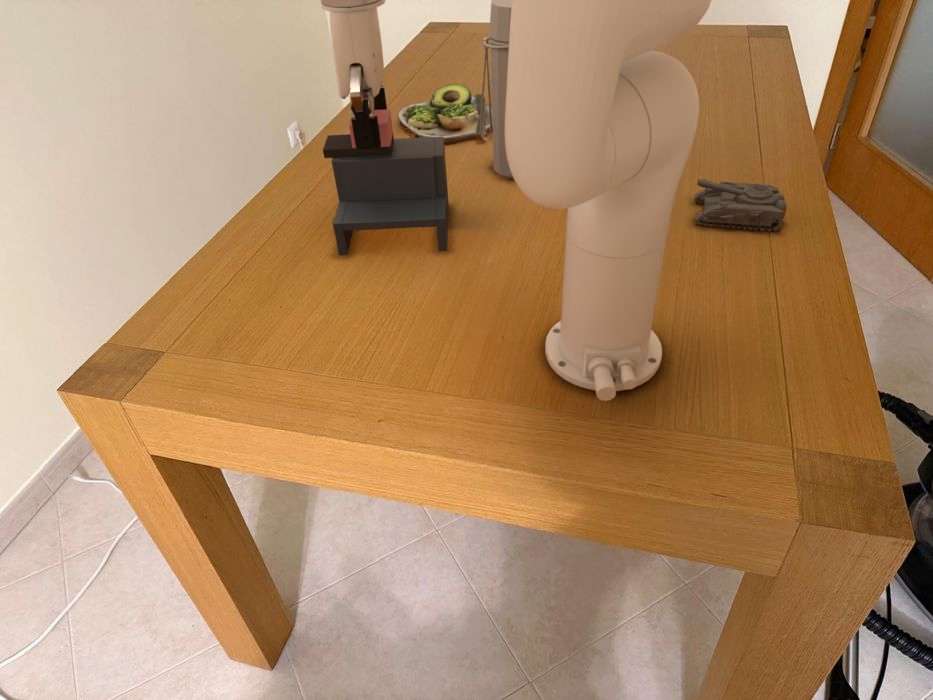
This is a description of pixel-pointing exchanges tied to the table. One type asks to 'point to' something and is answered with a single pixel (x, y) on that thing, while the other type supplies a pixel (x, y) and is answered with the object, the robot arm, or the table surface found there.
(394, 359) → the table surface
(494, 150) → the water bottle
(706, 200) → the tank toy
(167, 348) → the table surface
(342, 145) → the pink cube on slab
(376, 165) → the bench
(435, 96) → the salad plate
